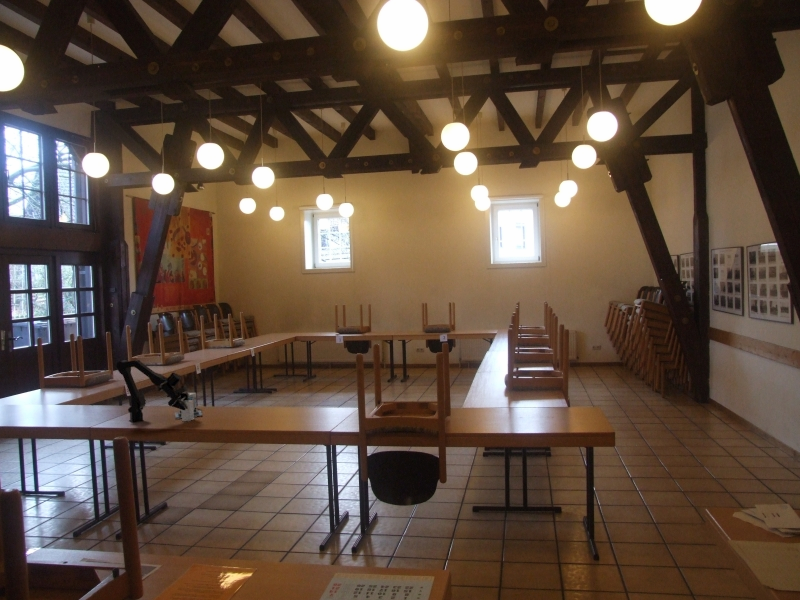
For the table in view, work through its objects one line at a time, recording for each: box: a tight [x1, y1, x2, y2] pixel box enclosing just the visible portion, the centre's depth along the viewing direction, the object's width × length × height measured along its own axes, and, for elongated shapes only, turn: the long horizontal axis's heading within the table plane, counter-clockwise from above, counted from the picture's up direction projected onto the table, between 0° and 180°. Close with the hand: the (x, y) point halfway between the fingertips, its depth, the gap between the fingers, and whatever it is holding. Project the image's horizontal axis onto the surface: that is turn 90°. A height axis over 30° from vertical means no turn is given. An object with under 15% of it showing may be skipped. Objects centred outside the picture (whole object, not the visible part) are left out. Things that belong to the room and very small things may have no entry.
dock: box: [174, 408, 203, 420], centre depth 377 cm, size 16×16×3 cm
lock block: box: [181, 400, 195, 422], centre depth 363 cm, size 6×6×12 cm
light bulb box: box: [179, 392, 198, 411], centre depth 397 cm, size 11×7×11 cm, turn 168°
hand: (188, 408), depth 363 cm, fingers open, 9 cm apart
